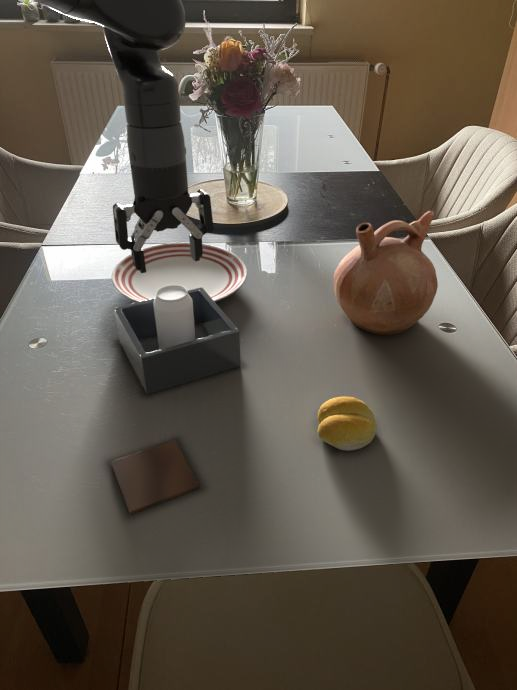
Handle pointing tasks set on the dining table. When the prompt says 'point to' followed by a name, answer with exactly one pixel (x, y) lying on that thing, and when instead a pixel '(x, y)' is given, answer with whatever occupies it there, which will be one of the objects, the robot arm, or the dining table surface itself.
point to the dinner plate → (180, 272)
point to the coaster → (153, 476)
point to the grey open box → (183, 358)
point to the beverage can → (174, 316)
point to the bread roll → (346, 423)
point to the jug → (387, 277)
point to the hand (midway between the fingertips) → (169, 265)
